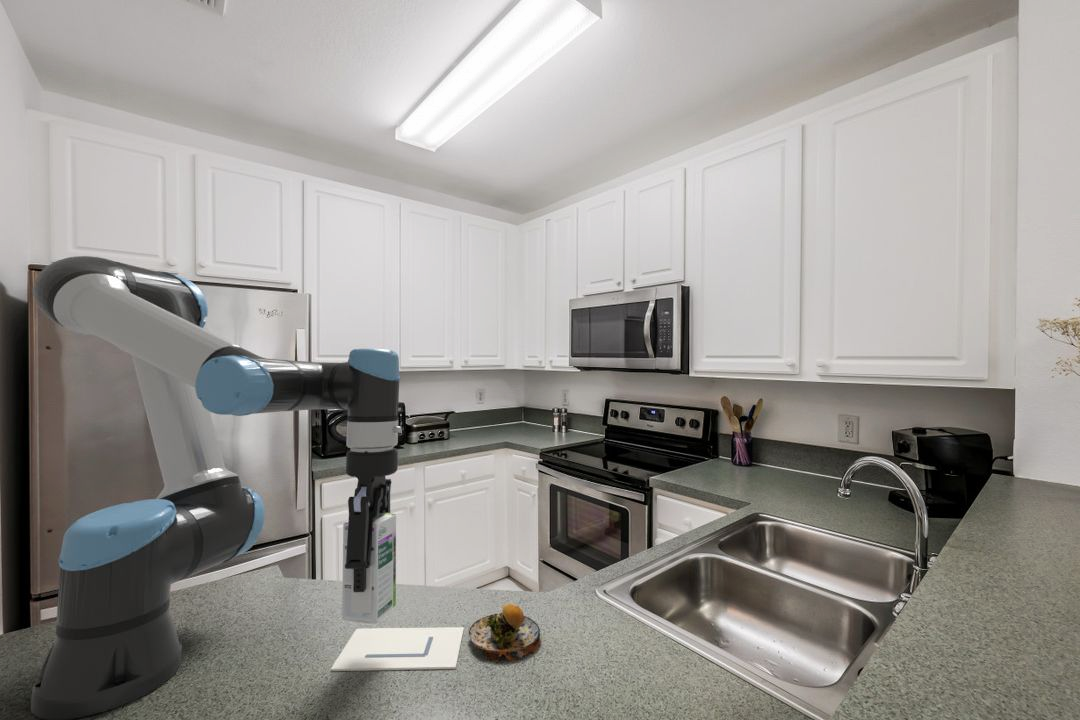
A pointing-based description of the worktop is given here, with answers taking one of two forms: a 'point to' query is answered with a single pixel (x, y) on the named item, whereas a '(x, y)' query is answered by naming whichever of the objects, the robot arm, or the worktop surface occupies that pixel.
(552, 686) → the worktop surface
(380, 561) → the syrup box
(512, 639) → the salad plate
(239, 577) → the worktop surface
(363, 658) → the paper
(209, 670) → the worktop surface
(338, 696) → the worktop surface
